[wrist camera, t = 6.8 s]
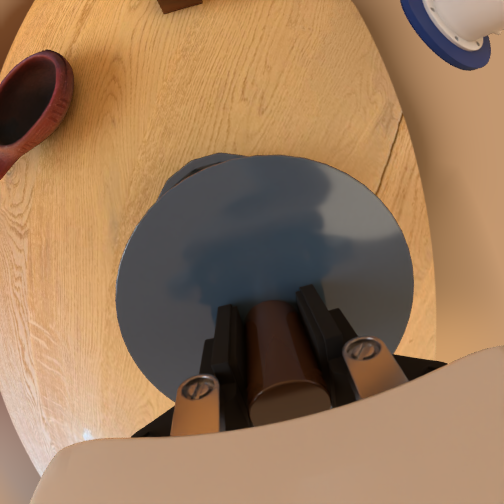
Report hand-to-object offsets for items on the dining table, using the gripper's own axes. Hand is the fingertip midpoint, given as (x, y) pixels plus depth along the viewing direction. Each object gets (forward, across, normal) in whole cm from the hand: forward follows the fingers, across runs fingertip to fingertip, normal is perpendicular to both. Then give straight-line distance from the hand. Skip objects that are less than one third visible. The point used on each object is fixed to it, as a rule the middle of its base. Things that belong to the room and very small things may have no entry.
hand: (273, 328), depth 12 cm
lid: (+1, 0, 0) cm, 1 cm away
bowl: (+23, +22, -22) cm, 39 cm away
